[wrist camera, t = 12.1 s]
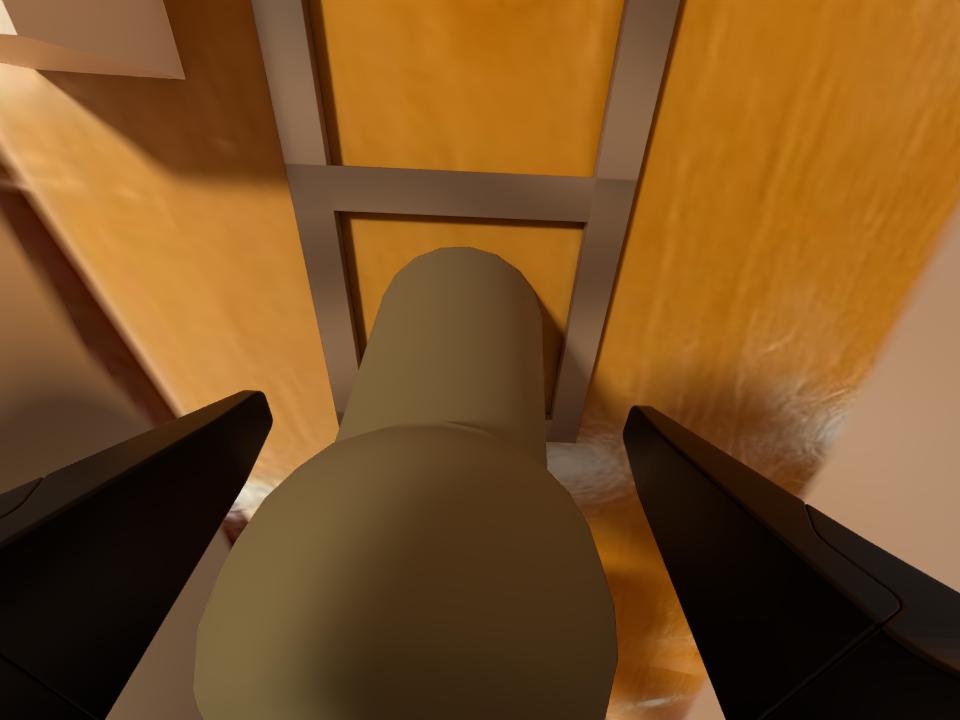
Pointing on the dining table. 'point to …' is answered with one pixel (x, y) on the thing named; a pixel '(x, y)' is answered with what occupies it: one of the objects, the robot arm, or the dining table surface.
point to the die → (90, 37)
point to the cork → (421, 536)
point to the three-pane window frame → (464, 191)
